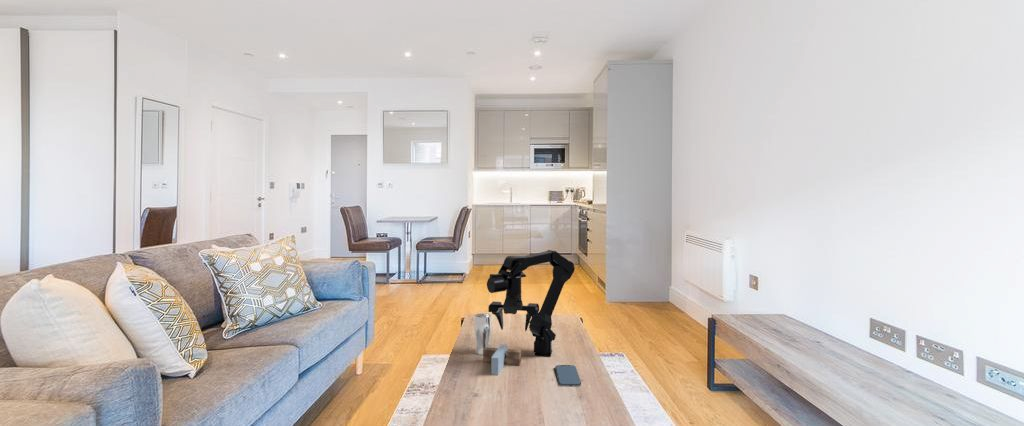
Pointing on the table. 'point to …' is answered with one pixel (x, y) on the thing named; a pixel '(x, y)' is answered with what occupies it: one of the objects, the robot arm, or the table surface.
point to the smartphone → (567, 375)
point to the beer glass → (482, 331)
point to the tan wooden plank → (510, 359)
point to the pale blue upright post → (498, 359)
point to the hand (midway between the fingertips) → (514, 330)
